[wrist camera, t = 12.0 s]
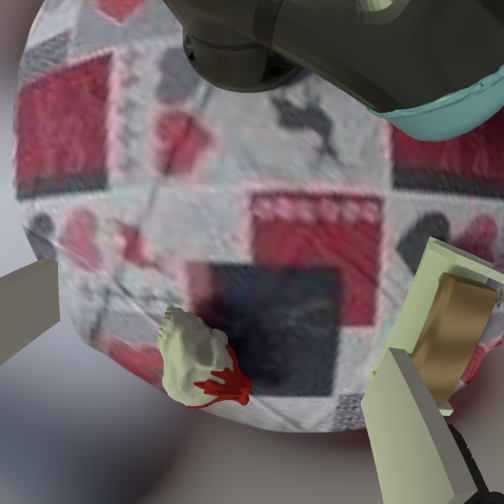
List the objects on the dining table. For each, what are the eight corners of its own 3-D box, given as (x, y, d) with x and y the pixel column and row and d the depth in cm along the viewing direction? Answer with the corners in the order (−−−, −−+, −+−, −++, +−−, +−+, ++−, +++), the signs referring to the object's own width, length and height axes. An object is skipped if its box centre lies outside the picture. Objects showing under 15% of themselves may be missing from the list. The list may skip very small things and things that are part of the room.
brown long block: (436, 385, 35) (446, 402, 31) (397, 383, 35) (405, 401, 31) (482, 282, 31) (498, 292, 27) (442, 271, 31) (458, 282, 27)
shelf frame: (429, 236, 34) (459, 249, 26) (491, 263, 33) (523, 279, 26) (366, 377, 39) (379, 411, 31) (430, 388, 38) (447, 418, 31)
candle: (176, 290, 38) (276, 344, 40) (143, 351, 40) (234, 395, 43) (157, 326, 29) (283, 388, 31) (124, 391, 32) (232, 440, 34)
